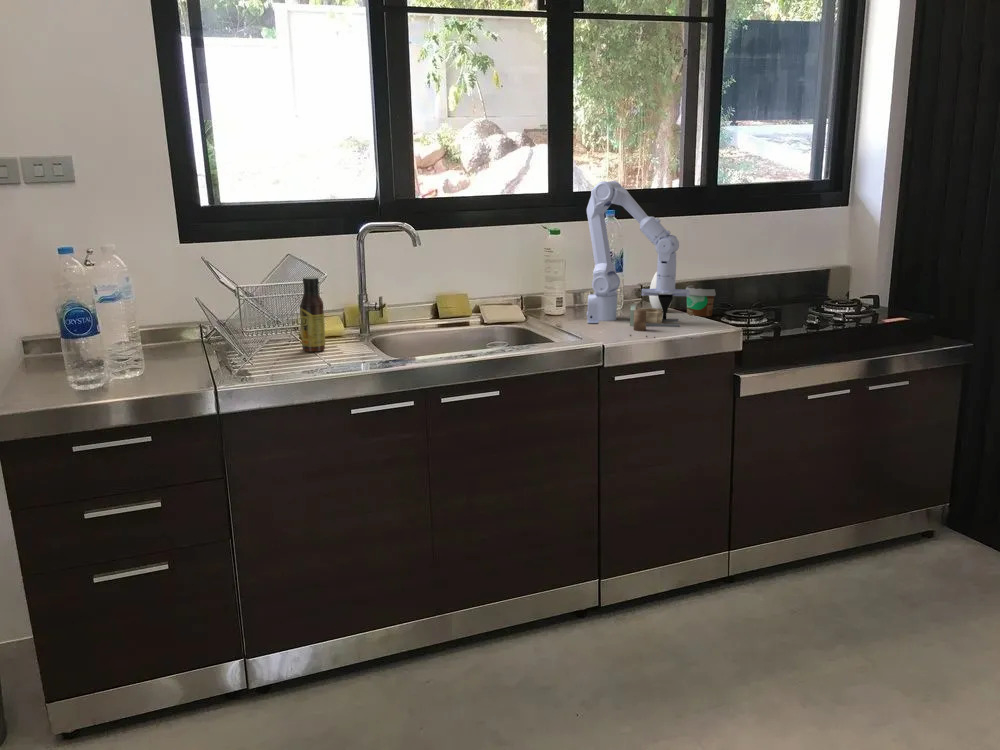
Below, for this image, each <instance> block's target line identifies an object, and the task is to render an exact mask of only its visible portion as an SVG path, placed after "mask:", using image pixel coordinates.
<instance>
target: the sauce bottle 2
mask: <svg viewBox="0 0 1000 750" xmlns="http://www.w3.org/2000/svg"><path fill="white" fill-rule="evenodd" d="M656 282H657V271H655V273H654V275H653V277H652V279H651V282H650V285H649V289H656ZM659 294H663V293H659ZM671 294H672V293H671ZM648 297H649V303H650V306H651V308H654V309H662V306H661V303H660V301H659V298H658V296H648ZM672 302H673V300H672V301H671V303H670V305H669V307H671V304H672ZM662 310H663V309H662Z"/></svg>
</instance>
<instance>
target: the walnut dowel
mask: <svg viewBox="0 0 1000 750" xmlns="http://www.w3.org/2000/svg"><path fill="white" fill-rule="evenodd" d="M646 313H647V310H642V309H637V310H636V309H635V310H634V326H633V330H634V331H636V332H644V331H647V326H646Z"/></svg>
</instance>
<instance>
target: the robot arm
mask: <svg viewBox="0 0 1000 750" xmlns="http://www.w3.org/2000/svg"><path fill="white" fill-rule="evenodd" d="M590 192H591V193H590V198H589V200H588V203H587V207H586V215H587V222H588V228H589V235H590V240H591V247H592V255H593V259H594V269H593V271H592V274H593V275H592V276H593V277H592V281H591V282H592V283H591V287H592V290H593V291H594V292H593V293H591V294H588V295H587V311H586V318H587V319H586V323H587V324H599V322H601V321H603V322H606V321H607V322H608V321H609V322H611V321H616V320H617V315H618V314H617V312H618V311H617V310H618V291H617V290H618V288H619V287H620V285H621V279H620V277H619V275H618V274H617V272H616V267H615V266H614V264H613V262H612V256H611V251H610V249H611V248H610V243H609V238H608V237H609V236H608V230H607V222H606V218H605V213H606V212H607V210H608V209H609V208H610V206H611V205H612V204H613V205H617V206H621V207H623V209H624V210H625V211H627V212H628V214H629V215H631V216H632V217H633V218H634V220H635V221H637V222H638V224H639V230H640V232H641V233H642V234H643V235H644V236H645V237H646V239H648V241H650V242H651V243H652V244H653V245H654V248H655V251H656V253H657V261H656V263H657V264H656V272H657V282H656V289H650V288H642V289H641V296H642V297H645V296H647V297H649V296H658V298H659V301H660V303H661V306H662V309H663V312H662V318H663V320H666V319H667V313H668V310H669V308H670V306H671V304H672V302H673V300H674V299H673V298H674V297H686V298H687V297H690V290H685V289H686V288H685V289H682V288H680V289H679V288H676V279H677V278H676V277H677V276H676V274H677V251H678V250H679V248H680V242H679V239H678V238H677V236H676V235H673V234H671V231H670V230H667V229H666V227H664V226H663V225H662V224H661V219H660V218H658V217H655V216H649V215H647V213H646V212H645V211H644V209H643V208H642V207H641V206H640V205H639V204H638V203H637V201H636V200H635V199H634V198H633V196H631V194H630V193H629V191H628V190H627V189H626V188H625V187H624V186H622V185H621V183H620V182H618V181H616V180H610V181H606V180H601V181H599V182H598V183H596V185H595V186H594V187H593V188H592V189H591V190H590ZM659 293H663V294H659ZM671 293H672V294H671ZM671 301H672V302H671ZM670 303H671V304H670ZM669 305H670V306H669Z"/></svg>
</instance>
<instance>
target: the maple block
mask: <svg viewBox="0 0 1000 750" xmlns="http://www.w3.org/2000/svg"><path fill="white" fill-rule="evenodd" d="M637 309H642V310H647V313H646V323H657V324H663V321H662V318H663V312H662V309H655V308H652V307H651V308H650V307H649V308H647V307H635V310H637Z"/></svg>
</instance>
